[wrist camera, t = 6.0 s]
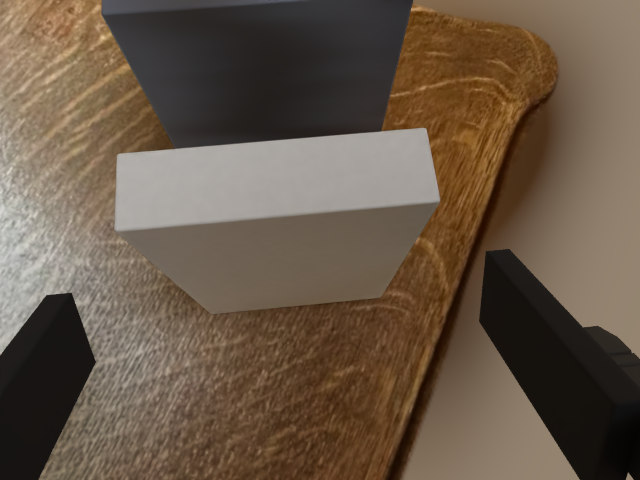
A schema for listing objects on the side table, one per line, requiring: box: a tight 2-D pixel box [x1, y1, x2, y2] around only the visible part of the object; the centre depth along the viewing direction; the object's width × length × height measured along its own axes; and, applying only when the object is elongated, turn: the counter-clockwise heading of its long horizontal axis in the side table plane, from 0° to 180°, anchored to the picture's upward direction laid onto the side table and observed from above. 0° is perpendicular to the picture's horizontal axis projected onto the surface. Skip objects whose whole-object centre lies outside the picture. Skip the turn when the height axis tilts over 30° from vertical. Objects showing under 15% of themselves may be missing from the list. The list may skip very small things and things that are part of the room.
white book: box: [114, 128, 440, 314], centre depth 20 cm, size 9×2×13 cm, turn 96°
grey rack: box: [101, 0, 413, 149], centre depth 22 cm, size 11×10×15 cm
